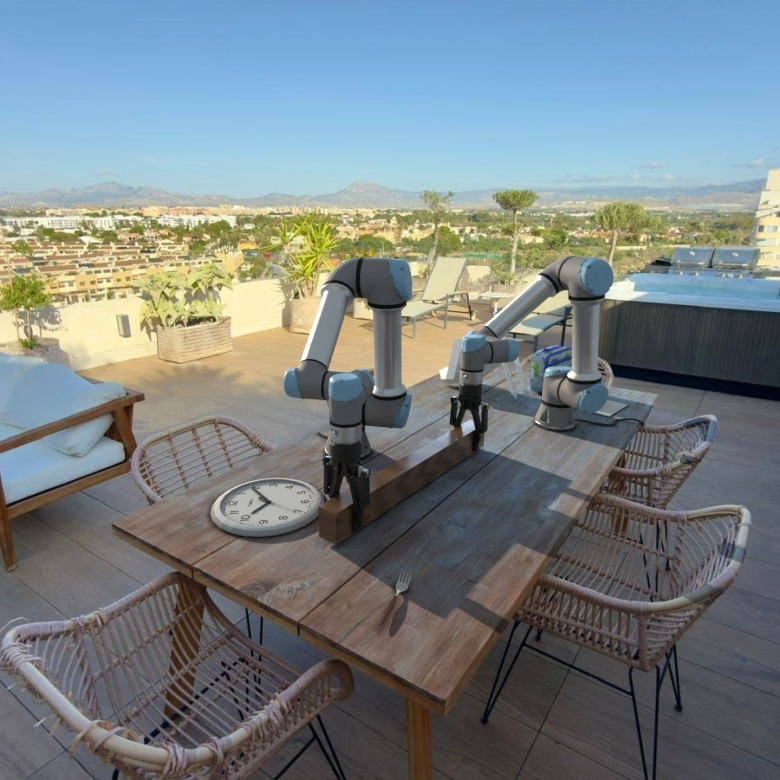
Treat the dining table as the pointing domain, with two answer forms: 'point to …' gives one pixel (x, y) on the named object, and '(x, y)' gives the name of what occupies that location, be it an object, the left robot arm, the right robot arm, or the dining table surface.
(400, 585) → the fork
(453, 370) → the white plastic object
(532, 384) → the lunch box
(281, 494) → the wall clock
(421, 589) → the dining table surface
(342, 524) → the post
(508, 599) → the dining table surface
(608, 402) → the invitation card
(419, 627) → the dining table surface
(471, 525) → the dining table surface
